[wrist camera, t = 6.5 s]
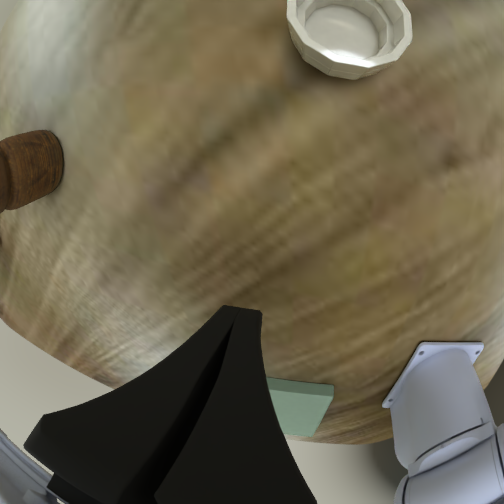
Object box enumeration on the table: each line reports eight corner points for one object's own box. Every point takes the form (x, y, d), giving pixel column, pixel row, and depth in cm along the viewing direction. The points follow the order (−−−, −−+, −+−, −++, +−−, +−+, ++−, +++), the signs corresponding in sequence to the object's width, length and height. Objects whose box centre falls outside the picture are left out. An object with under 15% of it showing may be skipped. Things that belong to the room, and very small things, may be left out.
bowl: (388, 89, 12) (412, 79, 8) (290, 73, 13) (284, 56, 9) (387, 9, 9) (407, -17, 6) (293, -6, 10) (288, -38, 7)
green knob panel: (333, 384, 23) (333, 411, 20) (312, 427, 27) (311, 448, 24) (182, 359, 25) (170, 382, 22) (191, 405, 29) (183, 425, 26)
